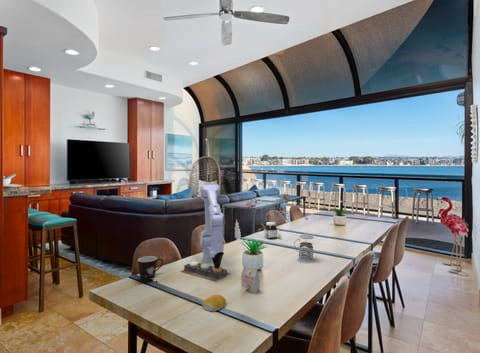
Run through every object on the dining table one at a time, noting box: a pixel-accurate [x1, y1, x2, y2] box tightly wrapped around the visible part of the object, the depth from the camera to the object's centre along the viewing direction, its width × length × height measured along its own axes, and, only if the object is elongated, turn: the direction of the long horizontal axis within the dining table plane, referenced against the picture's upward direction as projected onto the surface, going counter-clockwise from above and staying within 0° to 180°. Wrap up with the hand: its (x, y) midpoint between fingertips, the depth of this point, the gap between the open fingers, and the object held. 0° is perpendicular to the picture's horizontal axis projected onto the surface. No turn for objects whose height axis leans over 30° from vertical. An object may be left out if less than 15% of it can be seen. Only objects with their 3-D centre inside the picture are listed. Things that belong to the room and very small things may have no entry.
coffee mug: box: [137, 255, 164, 283], centre depth 138 cm, size 12×9×10 cm
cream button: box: [188, 260, 199, 267], centre depth 147 cm, size 4×4×2 cm
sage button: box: [201, 263, 211, 270], centre depth 143 cm, size 4×4×2 cm
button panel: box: [179, 262, 232, 283], centre depth 143 cm, size 12×23×4 cm, turn 57°
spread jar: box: [263, 221, 282, 240], centre depth 218 cm, size 12×11×12 cm
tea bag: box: [241, 265, 260, 294], centre depth 126 cm, size 4×7×10 cm, turn 51°
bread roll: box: [201, 294, 227, 312], centre depth 112 cm, size 8×9×4 cm
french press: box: [293, 216, 315, 264], centre depth 165 cm, size 10×12×25 cm
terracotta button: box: [213, 266, 223, 273], centre depth 139 cm, size 4×4×2 cm
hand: (217, 267), depth 139 cm, fingers closed
